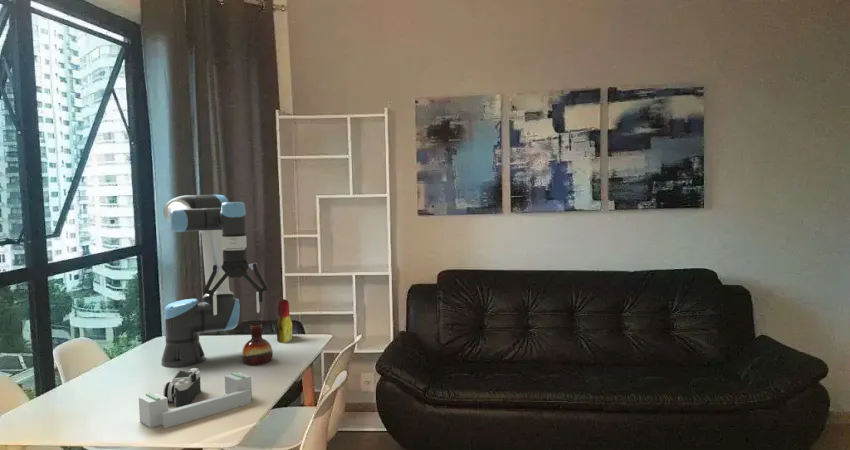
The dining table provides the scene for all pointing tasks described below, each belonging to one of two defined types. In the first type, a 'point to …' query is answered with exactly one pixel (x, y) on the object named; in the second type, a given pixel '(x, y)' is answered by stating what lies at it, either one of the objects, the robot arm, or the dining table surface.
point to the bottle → (284, 322)
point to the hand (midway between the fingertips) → (236, 313)
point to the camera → (183, 387)
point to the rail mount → (195, 404)
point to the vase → (257, 348)
